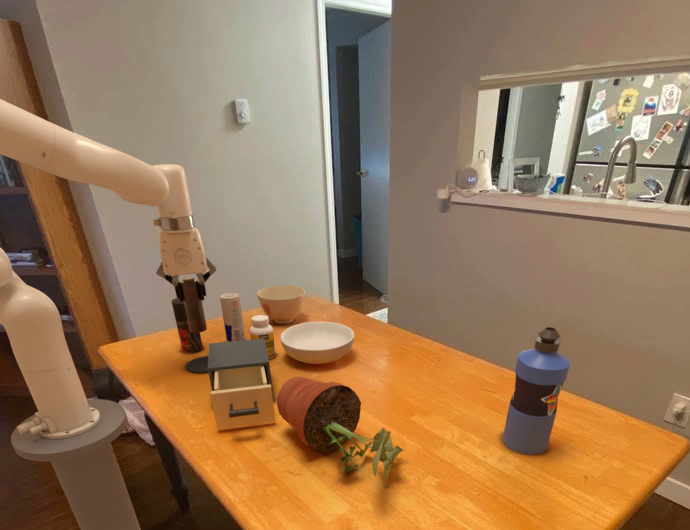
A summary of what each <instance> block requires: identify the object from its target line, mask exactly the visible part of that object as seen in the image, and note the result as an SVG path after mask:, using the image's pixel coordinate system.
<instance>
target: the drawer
mask: <svg viewBox="0 0 690 530" xmlns="http://www.w3.org/2000/svg"><path fill="white" fill-rule="evenodd" d="M214 390H215V391H212V390H211V391H210V399H211V404H212V409H213V415H214V419H215V425H216V430H225V429H232V428H240V427H247V426H248V427H249V426H254V425H261V424H268V423H270V424H271V423H276V416H275V408H274V407H275V406H274V402H273V400H274V396H273V397H272V391H273V388H272V389H271V384H270V385H267V380H266V375H265V369H264V365H263V366H253V367H244V368H234V369H225V370H216V371H215V378H214Z"/></svg>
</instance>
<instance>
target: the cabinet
mask: <svg viewBox="0 0 690 530" xmlns="http://www.w3.org/2000/svg"><path fill="white" fill-rule="evenodd" d="M207 356H208V372H209V373H208V377H209V384H210V387H211V391H215V390H214V378H215V371H216V370H225V369H234V368H244V367H253V366H263V365H264V369H265V375H266V380H267V385H270V384H271V389H272V397H273V398H274V391H273V384H272V375H271V365H270V359H269V358H268V354H267V349H266V345H265V340H264V338H263V339H252V340H251V339H246V340H241V341H231V342H227V341H221V342H211V343H208V355H207ZM273 403H274V399H273Z"/></svg>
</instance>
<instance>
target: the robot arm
mask: <svg viewBox="0 0 690 530" xmlns="http://www.w3.org/2000/svg"><path fill="white" fill-rule="evenodd" d="M0 155H2V156H4V157H7V158H9V159H12V160H15V161H18V162H20V163H23V164H25V165H28V166H30V167H33V168H36V169H39V170H41V171H44V172H46V173H48V174H52V175H54V176H57V177H58V178H61V179H66V180H68V181H72V182H76V183H81V184H87V185H92V186H94V187H99V188H102V189H106V190H110V191H111V192H114V193H115V194H116V196H117V197H119V199H122V200H123V201H125V202H127V203H132V204H137V205H144V206H149V207H156V211H157V214H158V218H155V219H153V220H152V222H153V226H155V227H156V226H157V227H159V228H160V230H159V231H158V246H159V251H160V258H161V262H160V264H159V266H158V268H157V270H156V272H155V273H156V275H157V276H159V277H160V278H162V279H164V280H165V281H166V282H168V283H170V284H171V285H172V286H173V287H174V291H175V295H176V296H175V297H176V298H179V299H180V302H183V295H182V291H181V286H180V280H179V278H180V277H179V276H185V275H196V277H197V279H198V283H199V284H198V287H199V292H200V297H201V300H202V301H205V297H206V296H207V290H206V282H207V281H208V280H209V279H210V277H211V276H212V275H213V274H215V273H216V272H217V266H215V264H213V262H212V261H210V259H209V258H208V257H207V255H206V251H205V247H204V243H203V239H202V236H201V233H200V230H199V228H197V227H196V226H195V220H194V214H193V208H192V203H191V197H190V192H189V187H188V186H189V185H188V181H187V174H186V171H185V169H184V168H183V166H182V165H180V164H174V163H173V164H172V163H168V164H167V163H166V164H165V163H164V164H155V165H152V164H149V163H147V162H145V161H143V160H140V159H138V158H136V157H134V156H133V155H130V154H128V153H125V152H123V151H121V150H118V149H116V148H113V147H112V146H111V147H110V146H108V145H105V144H103V143H100V142H97V141H95V140H93V139H90V138H89V137H86V136H84V135H81V134H79V133H76V132H73V131H71V130H69V129H66V128H64V127H63V126H60V125H57V124H55V123H53V122H50V121H48V120H47V119H44V118H42V117H40V116H38V115H36V114H34V113H31V112H29V111H27V110H25V109H23V108H21V107H18V106H16V105H15V104H12V103H10V102H7V101H6V100H4V99H1V98H0ZM0 325H2V326H3V328H4V330H5V332H6V334H7V337H8V340H9V343H10V347H11V350H12V353H13V355H14V358H15V360H16V363H17V365H18V368H19V369H20V371H21V374H22V376H23V379H24V381H25V383H26V386H27V388H28V391H29V392H30V395H31V397H32V400H33V402H34V404H35V407H36V409H37V411H36V412H34V415H36V418H33V419H32V421H30V422H28V423H24V424H22V425H20V424H18V425H17V426H16V428H17V429H18V430H19V432H20V433H21V434H24V433H26V432H29V431H30V432H31V434H35V433H37V432H39V434H40V435H41V436H42V437H44V438H48V439H64V438H70V437H73V436H77V435H80V434H82V433H85V432H87V431H89V430H90V429H92V428H93V427H95V426H96V425H97V424H98V423H99V421H100V419H101V416H100V413H99V411H98V410H97V409H95V408H92V407H89V404H88V402H87V399H88V398H87V396H86V393H85V391H84V388H83V385H82V382H81V380H80V377H79V374H78V372H77V368H76V366H75V363H74V360H73V358H72V354H71V352H70V349H69V346H68V343H67V340H66V337H65V333H64V328H63V323H62V319H61V314H60V312H59V310H58V307H57V306H56V304H55V303H54V301H53V300H52V299H51V298H50V297H49V296H48V295H46V293H44V292H42V291H40V290H39V289H37V288H35V287H33V286H30V285H28V284H27V283H25V282H24V281H23V280H22V279H21V278H20V276H19V275H18V274H17V273H16V272H15V271H14V269H13V265H12V262H11V260H10V258H9V256H8V255H7V253H6V252H5V250H4V249H3V248H2V247H0Z"/></svg>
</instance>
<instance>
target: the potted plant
mask: <svg viewBox="0 0 690 530" xmlns="http://www.w3.org/2000/svg"><path fill="white" fill-rule="evenodd" d="M276 407H277V410H278V414H279V415H280V417H281V418H282V419H283V420H284V421H285V422H286V423H287V424H288V425H290V426H291V427H292V428H293V429H294V430H295V431H296V434H297V436H298V438H299V439H300V441H301V442H302V443H303V444H305V445H306V446H308V447H309V448H311V449H313V450H314V451H315V452H319V453H329V452H333V451H335V450H337V449H339V448H340V450H341V452H342V454H344V456H343V457H341V459H340V464H341V463H344V466H345V467H344V473H345V474H347V473H349V472H351V471H352V470H354V469H356V468H357V467H359V465H358V463H357V464H355V465H354V466H349V465H347V464H348V463H349V461H350V462H351V463H353V460H352V459H353V458H355V457H357V456H359V457H360V458H362V457H364V455H365V453H366V452H367V451H368V449H369V448H370V451H369V453H368V455H370V454H371V453H374V452H375V454H374V456H373V458H372V462H371V464H372V465H371V466H372V472H373V476H374V477H376V476H377V472H378V468H379V463H380V462H381V463H383V469H384V470H383V474H384V476H385V478H386V480H387V481H389V475H390V471H391V469H392V466H393V464H394V461H395V459H396V458H397V456H398V455H399V454H401V452H404V449H403V448H401V447H400V446H399V445H395V446H394V443H393V441H392V437H391V431H389V430H387V429H386V428H384V427H381V429H379V430H378V431H377V433H376V434H375V435H374V436H373V438H369V437H366V436H361V435H357V434H356V433H354V432H355V431H356V429H357V427H358V425H359V421H360V417H361V411H362V410H361V408H362V401H361V400H360V397H359V395H358V394H357V393H356V391H355V390H354V389H352V388H351V387H349V386H347V385H345V384H342V383H339V382H336V381H330V382H327V381H326V382H323V381H319V380H315V379H312V378H307V377H304V376H294V377H291V378H290V379H288V380H286V381H285V382H284V383H283V384H282V385H281V387H280V389H279V392H278V394H277V398H276ZM353 438H354V439H356V440H357V441H359V442H361V443H363V444H364V449H362V448H361V447H360V446H359V444H358V443H356V442H355V440H354V439H353ZM348 441H350V442H352V443H353V444H354V445H355V446H349V452H348V451H347V449H345V448H344V446H343V445H345V444H346V443H347V442H348ZM368 442H369V443H368ZM356 447H357V449H359V450H356ZM355 450H356V452H355ZM354 452H355V453H354ZM353 453H354V454H353Z"/></svg>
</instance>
